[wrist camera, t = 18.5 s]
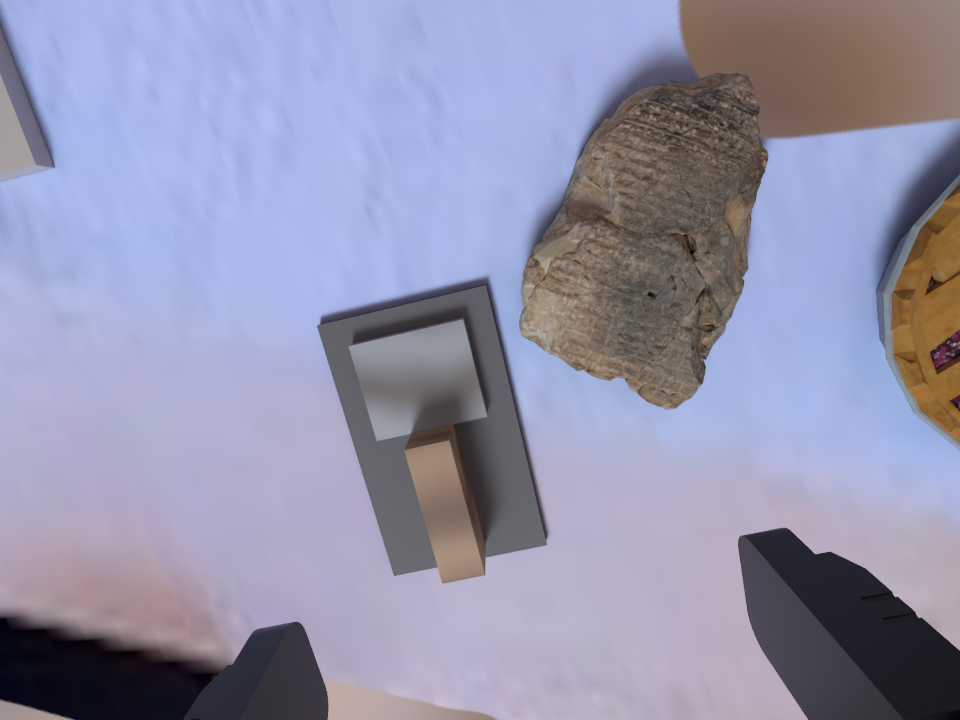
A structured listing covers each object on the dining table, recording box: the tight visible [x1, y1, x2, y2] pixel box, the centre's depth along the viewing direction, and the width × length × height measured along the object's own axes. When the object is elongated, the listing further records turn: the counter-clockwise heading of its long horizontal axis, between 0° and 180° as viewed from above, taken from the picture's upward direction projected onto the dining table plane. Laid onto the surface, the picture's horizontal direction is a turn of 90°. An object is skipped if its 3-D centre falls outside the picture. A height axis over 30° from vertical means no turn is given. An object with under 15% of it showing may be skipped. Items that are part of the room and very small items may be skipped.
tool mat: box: [317, 285, 547, 576], centre depth 38 cm, size 20×12×1 cm, turn 13°
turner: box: [349, 317, 487, 584], centre depth 36 cm, size 17×8×4 cm, turn 13°
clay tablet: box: [519, 73, 768, 410], centre depth 33 cm, size 14×5×20 cm
